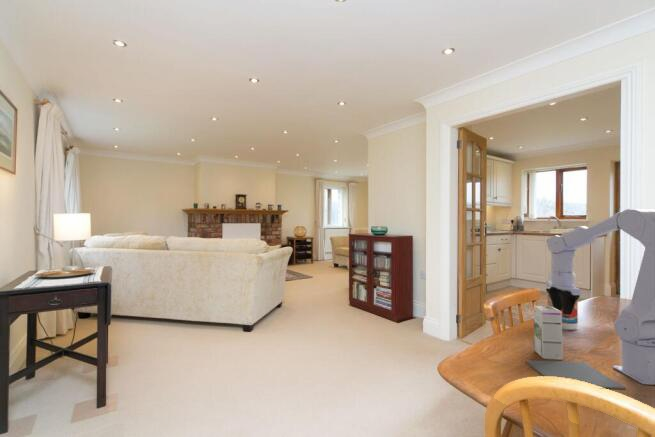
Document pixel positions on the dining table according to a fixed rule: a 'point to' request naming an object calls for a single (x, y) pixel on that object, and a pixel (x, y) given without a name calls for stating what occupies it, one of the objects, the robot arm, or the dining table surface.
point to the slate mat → (574, 372)
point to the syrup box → (548, 332)
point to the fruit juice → (567, 319)
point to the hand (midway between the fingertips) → (562, 311)
